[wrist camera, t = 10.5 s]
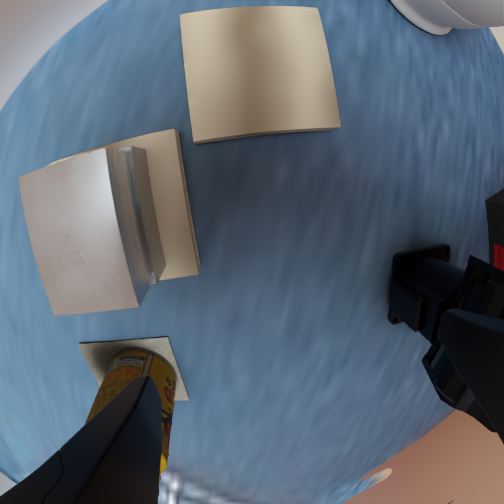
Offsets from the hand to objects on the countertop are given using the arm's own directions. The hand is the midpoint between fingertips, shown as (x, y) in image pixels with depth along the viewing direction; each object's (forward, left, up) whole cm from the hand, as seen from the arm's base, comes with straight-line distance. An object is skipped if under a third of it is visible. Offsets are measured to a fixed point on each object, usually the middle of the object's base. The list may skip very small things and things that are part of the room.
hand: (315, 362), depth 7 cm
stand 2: (-2, -11, -13) cm, 17 cm away
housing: (+8, -4, -11) cm, 14 cm away
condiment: (+12, +10, -13) cm, 21 cm away
